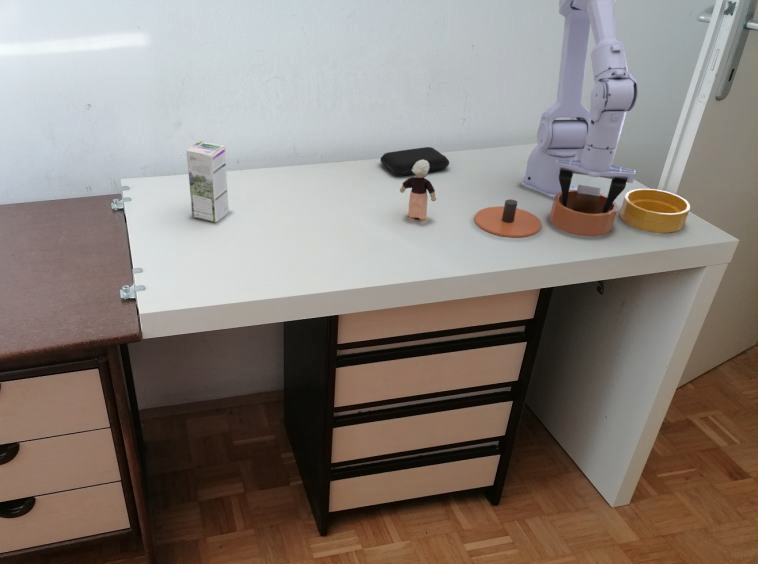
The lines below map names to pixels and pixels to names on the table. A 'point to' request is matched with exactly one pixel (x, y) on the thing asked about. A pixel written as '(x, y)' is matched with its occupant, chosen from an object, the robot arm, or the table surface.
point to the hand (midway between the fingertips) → (583, 210)
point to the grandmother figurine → (419, 191)
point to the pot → (582, 216)
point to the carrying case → (413, 160)
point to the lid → (507, 220)
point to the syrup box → (208, 181)
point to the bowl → (654, 210)
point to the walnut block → (586, 199)
